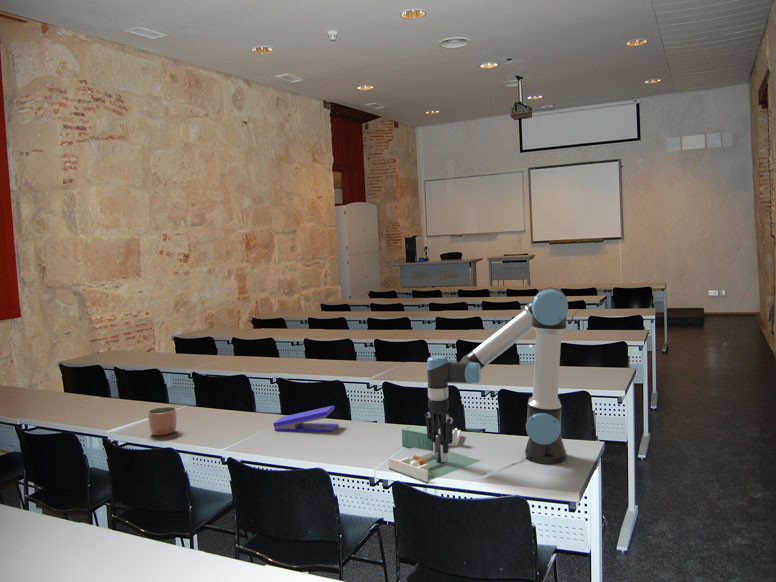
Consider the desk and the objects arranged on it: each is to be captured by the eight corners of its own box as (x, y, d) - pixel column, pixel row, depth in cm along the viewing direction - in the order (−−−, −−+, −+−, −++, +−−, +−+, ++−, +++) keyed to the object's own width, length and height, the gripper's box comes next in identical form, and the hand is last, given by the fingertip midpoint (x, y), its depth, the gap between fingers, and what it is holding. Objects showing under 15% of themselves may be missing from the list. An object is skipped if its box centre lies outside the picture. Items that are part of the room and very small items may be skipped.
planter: (181, 433, 288) (179, 410, 288) (153, 439, 281) (151, 415, 281) (173, 427, 299) (172, 405, 298) (146, 433, 292) (144, 409, 291)
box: (429, 452, 248) (429, 433, 248) (401, 447, 256) (401, 429, 256) (439, 447, 254) (438, 429, 254) (412, 442, 262) (411, 424, 262)
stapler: (331, 433, 280) (330, 411, 280) (272, 431, 286) (271, 410, 286) (338, 425, 292) (337, 405, 291) (282, 424, 297) (281, 404, 297)
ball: (420, 459, 224) (413, 467, 222) (424, 467, 226) (417, 475, 223) (412, 456, 227) (405, 464, 225) (416, 464, 229) (409, 472, 227)
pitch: (480, 462, 234) (480, 451, 233) (426, 483, 215) (426, 471, 215) (442, 451, 249) (441, 440, 248) (388, 469, 231) (388, 458, 230)
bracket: (457, 448, 252) (456, 430, 252) (439, 447, 254) (439, 429, 253) (461, 438, 265) (460, 420, 264) (444, 437, 266) (443, 420, 266)
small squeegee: (449, 461, 233) (448, 435, 232) (424, 470, 224) (423, 443, 224) (437, 458, 237) (437, 432, 237) (413, 466, 229) (412, 440, 228)
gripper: (461, 399, 229) (463, 462, 230) (430, 393, 241) (432, 452, 243) (447, 403, 224) (449, 467, 225) (415, 396, 236) (418, 457, 238)
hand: (440, 459), depth 234 cm, fingers closed on small squeegee, 3 cm apart
